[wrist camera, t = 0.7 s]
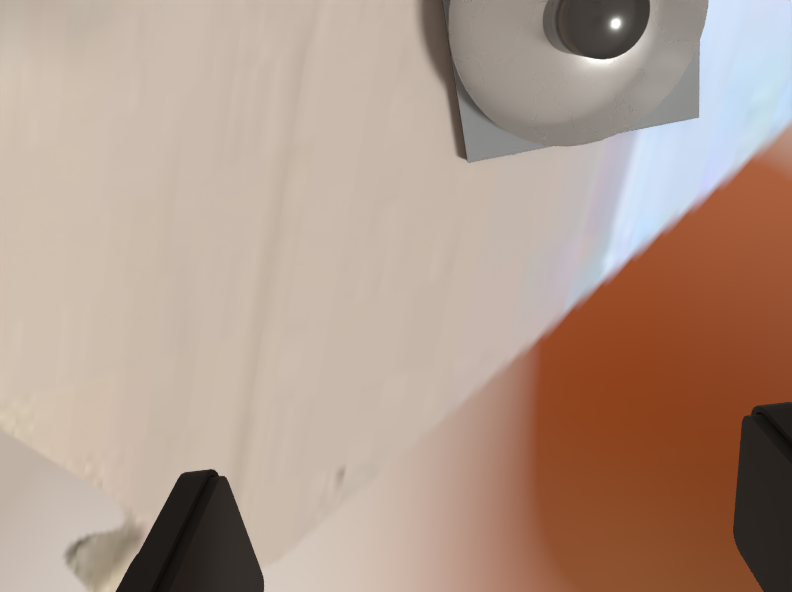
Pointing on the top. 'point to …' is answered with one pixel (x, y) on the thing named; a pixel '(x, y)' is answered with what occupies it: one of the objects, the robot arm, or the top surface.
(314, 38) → the top surface
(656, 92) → the lid
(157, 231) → the top surface
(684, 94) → the mat
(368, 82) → the top surface
